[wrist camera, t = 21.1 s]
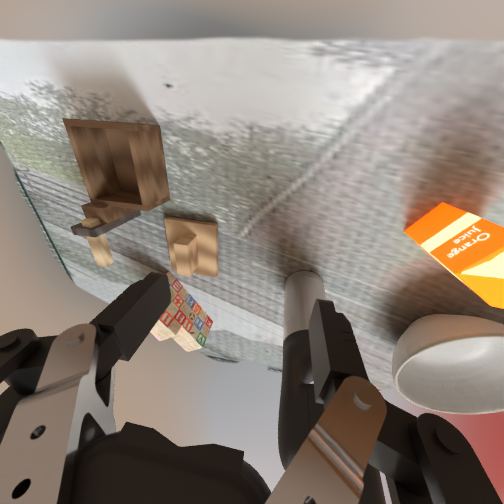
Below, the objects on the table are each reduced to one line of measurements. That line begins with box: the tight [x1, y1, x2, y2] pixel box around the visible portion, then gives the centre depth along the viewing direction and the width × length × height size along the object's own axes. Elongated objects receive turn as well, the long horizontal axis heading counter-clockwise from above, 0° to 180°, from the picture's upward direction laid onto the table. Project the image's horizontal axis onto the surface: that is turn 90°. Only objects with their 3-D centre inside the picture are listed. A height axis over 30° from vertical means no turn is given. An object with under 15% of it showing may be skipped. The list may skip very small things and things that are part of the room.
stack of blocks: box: [150, 271, 213, 352], centre depth 55 cm, size 21×6×12 cm, turn 31°
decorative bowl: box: [392, 314, 504, 414], centre depth 45 cm, size 27×27×12 cm
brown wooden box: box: [62, 118, 170, 238], centre depth 37 cm, size 18×13×13 cm
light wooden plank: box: [81, 217, 114, 267], centre depth 40 cm, size 10×2×2 cm, turn 176°
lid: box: [164, 217, 218, 277], centre depth 47 cm, size 14×12×8 cm
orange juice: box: [404, 202, 504, 309], centre depth 30 cm, size 8×9×20 cm
